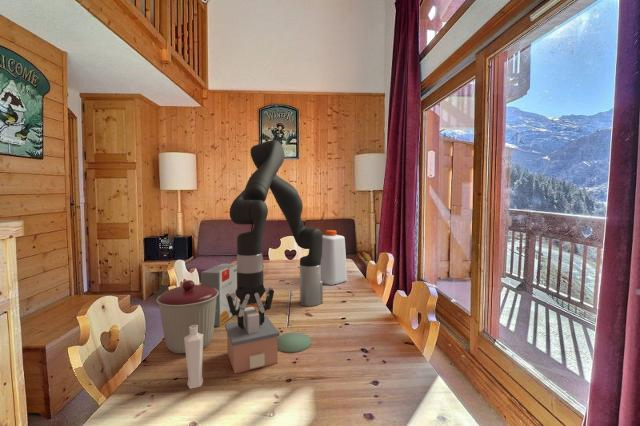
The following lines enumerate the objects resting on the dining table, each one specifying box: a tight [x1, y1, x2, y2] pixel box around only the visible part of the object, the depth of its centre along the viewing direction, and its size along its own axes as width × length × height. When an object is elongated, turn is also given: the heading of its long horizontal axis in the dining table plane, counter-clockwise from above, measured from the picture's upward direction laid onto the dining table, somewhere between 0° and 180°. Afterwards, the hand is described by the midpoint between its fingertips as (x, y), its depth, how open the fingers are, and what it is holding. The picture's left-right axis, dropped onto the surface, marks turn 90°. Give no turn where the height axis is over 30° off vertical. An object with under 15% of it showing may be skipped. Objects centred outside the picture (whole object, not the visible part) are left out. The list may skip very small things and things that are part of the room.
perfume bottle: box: [184, 325, 204, 390], centre depth 77 cm, size 5×4×15 cm
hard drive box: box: [200, 263, 240, 327], centre depth 118 cm, size 16×8×20 cm, turn 168°
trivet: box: [277, 332, 312, 354], centre depth 99 cm, size 12×12×1 cm
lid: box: [224, 306, 280, 346], centre depth 89 cm, size 13×13×7 cm
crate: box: [226, 332, 278, 374], centre depth 90 cm, size 12×13×8 cm
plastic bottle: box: [321, 229, 348, 286], centre depth 168 cm, size 15×15×28 cm
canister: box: [155, 279, 219, 354], centre depth 97 cm, size 18×18×21 cm
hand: (251, 325), depth 90 cm, fingers open, 5 cm apart
